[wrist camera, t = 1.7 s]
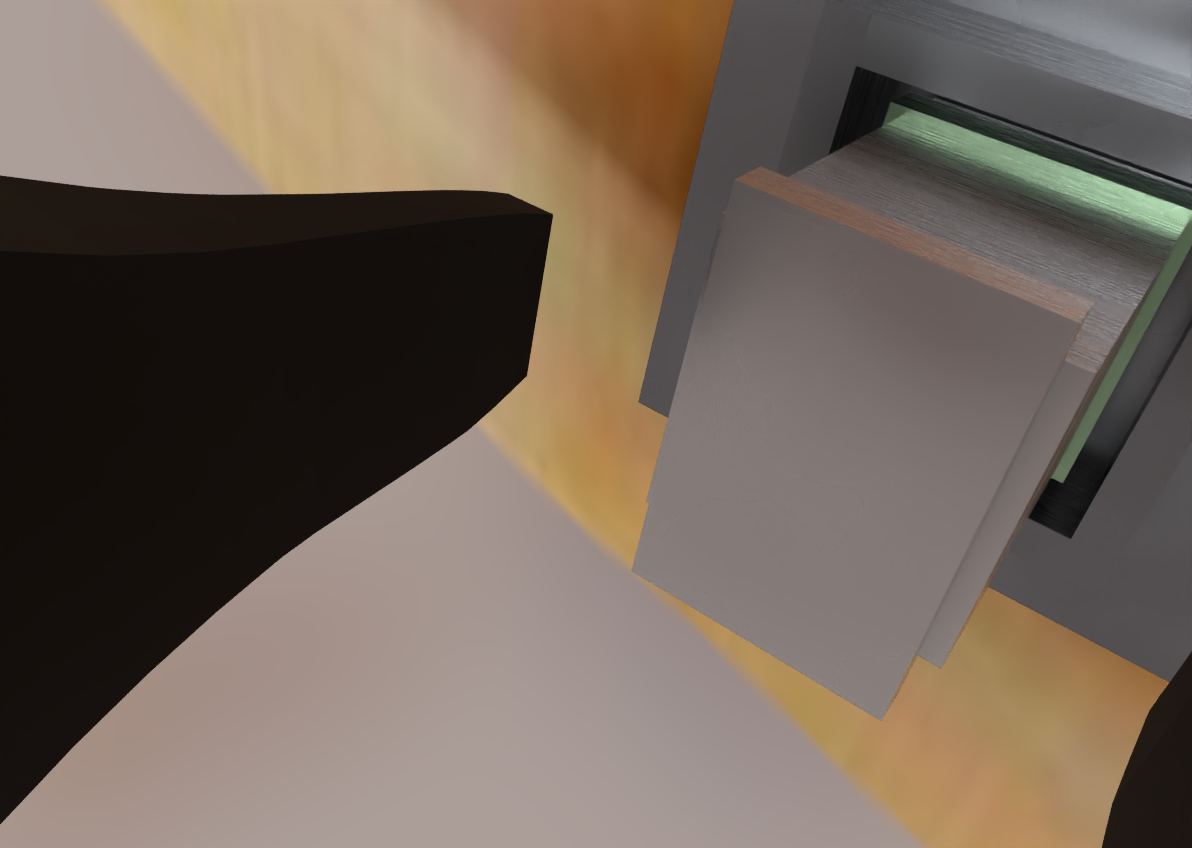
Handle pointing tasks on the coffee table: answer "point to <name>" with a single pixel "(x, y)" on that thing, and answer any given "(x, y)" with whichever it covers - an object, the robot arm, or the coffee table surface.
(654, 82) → the coffee table surface
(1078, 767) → the coffee table surface
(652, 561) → the pull-out drawer
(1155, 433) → the grey slotted holder
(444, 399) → the robot arm
